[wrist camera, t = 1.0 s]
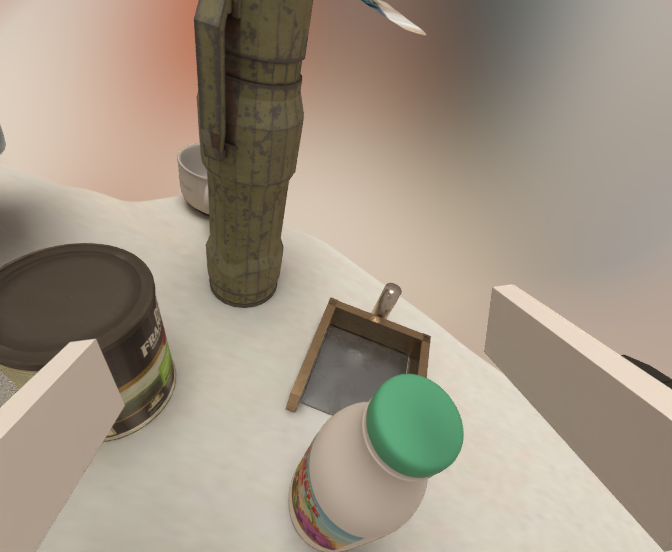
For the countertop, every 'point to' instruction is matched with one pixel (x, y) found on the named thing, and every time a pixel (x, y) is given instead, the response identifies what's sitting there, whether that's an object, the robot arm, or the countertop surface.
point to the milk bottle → (374, 464)
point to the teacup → (193, 177)
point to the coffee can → (88, 322)
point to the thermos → (249, 135)
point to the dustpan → (358, 355)
